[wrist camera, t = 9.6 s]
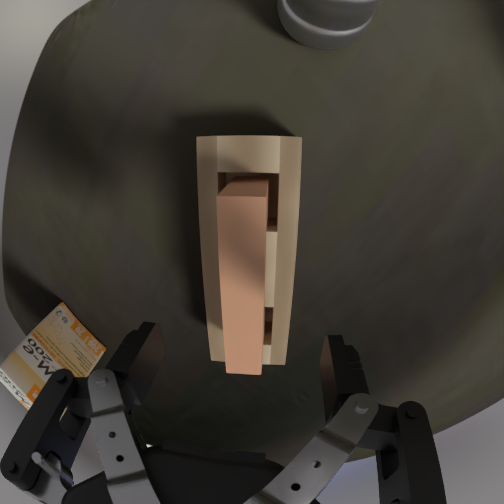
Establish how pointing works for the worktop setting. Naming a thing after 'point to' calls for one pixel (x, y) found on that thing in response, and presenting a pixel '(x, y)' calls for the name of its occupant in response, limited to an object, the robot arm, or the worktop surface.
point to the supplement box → (49, 355)
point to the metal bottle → (326, 21)
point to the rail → (277, 233)
